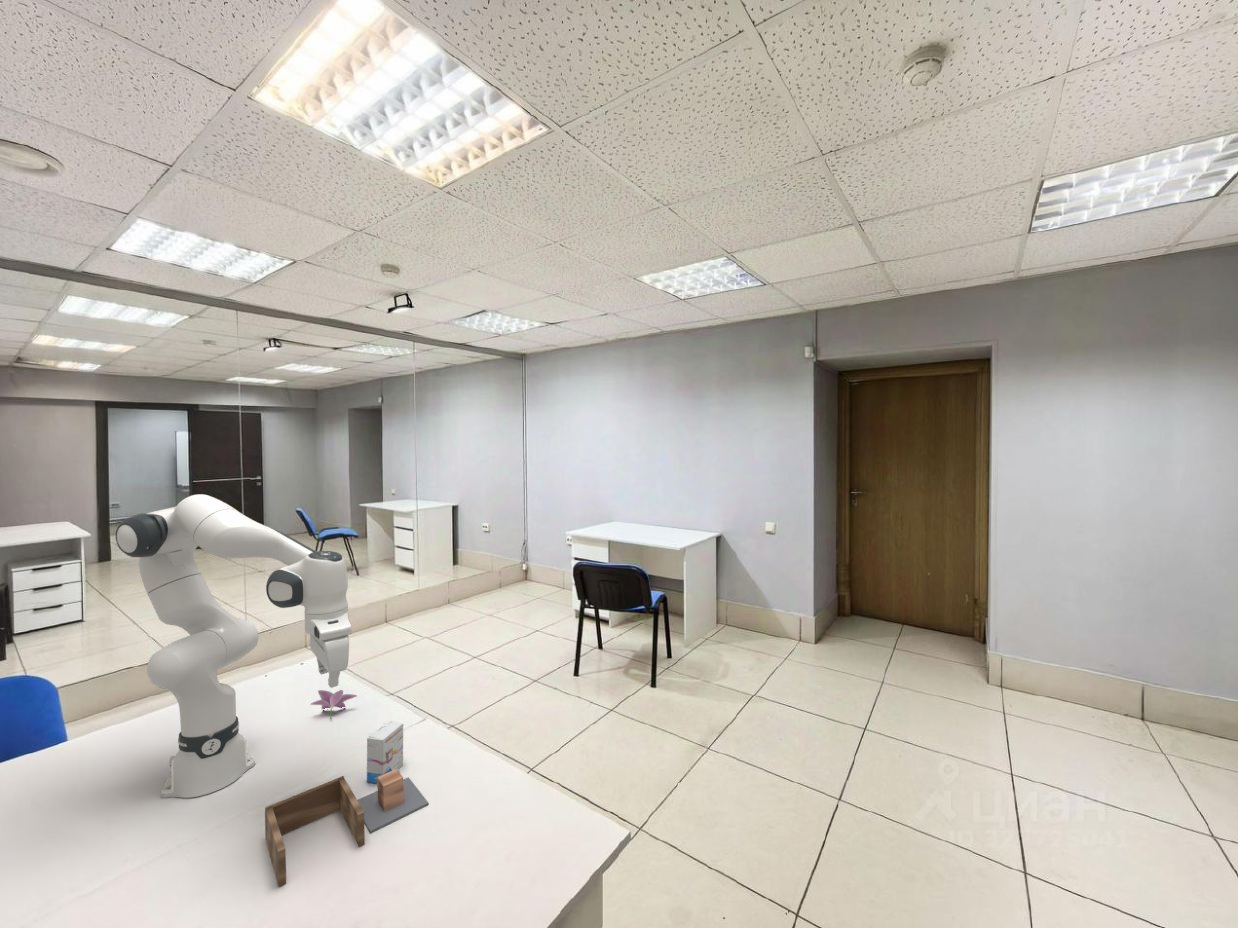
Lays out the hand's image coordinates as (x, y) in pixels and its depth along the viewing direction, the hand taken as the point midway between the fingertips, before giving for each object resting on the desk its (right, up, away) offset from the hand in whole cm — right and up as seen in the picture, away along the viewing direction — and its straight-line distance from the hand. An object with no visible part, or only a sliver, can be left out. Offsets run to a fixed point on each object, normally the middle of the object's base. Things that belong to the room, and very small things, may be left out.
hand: (328, 679), depth 116 cm
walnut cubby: (+3, -31, -9) cm, 33 cm away
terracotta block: (+14, -30, +2) cm, 33 cm away
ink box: (+7, -31, +14) cm, 35 cm away
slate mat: (+14, -31, +2) cm, 34 cm away
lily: (-24, -31, +44) cm, 58 cm away
